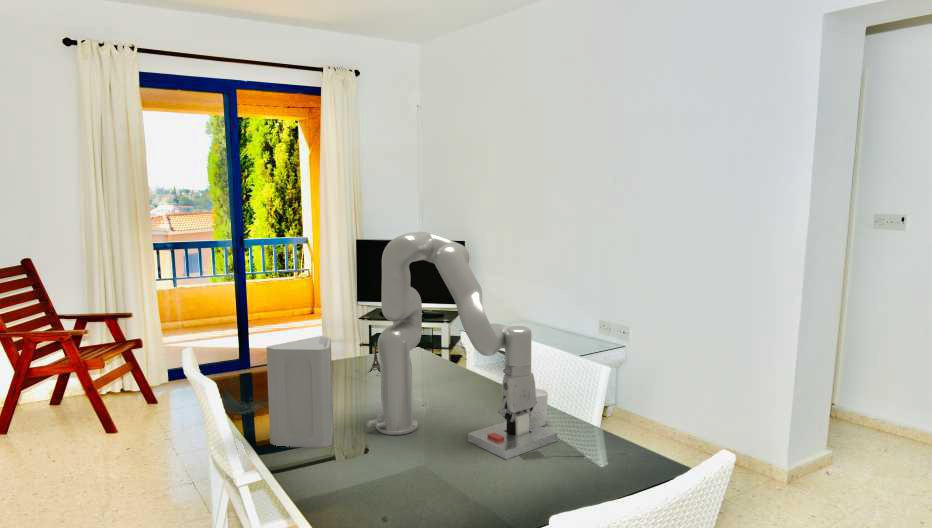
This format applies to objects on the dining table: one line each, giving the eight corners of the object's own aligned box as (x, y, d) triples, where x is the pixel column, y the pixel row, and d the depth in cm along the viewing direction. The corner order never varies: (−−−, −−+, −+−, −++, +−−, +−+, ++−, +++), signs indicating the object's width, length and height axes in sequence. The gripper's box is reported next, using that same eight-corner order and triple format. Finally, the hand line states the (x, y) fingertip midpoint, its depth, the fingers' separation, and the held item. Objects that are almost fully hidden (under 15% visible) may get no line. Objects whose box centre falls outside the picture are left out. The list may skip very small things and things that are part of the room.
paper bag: (298, 456, 162) (294, 355, 159) (268, 442, 172) (265, 346, 169) (354, 436, 176) (352, 342, 174) (324, 424, 186) (322, 335, 183)
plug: (517, 437, 170) (517, 412, 169) (506, 432, 173) (506, 408, 173) (528, 433, 173) (529, 409, 172) (518, 428, 176) (518, 405, 176)
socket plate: (506, 459, 160) (506, 447, 159) (468, 441, 172) (468, 430, 172) (557, 440, 172) (557, 430, 172) (518, 425, 185) (518, 415, 184)
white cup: (546, 428, 181) (547, 396, 181) (520, 427, 183) (520, 395, 182) (548, 419, 189) (548, 388, 188) (523, 418, 191) (523, 387, 190)
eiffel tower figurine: (353, 371, 247) (353, 339, 246) (374, 366, 254) (373, 335, 253) (375, 379, 236) (374, 345, 235) (395, 374, 243) (395, 341, 242)
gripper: (505, 378, 163) (504, 442, 165) (548, 367, 174) (547, 428, 176) (487, 372, 169) (487, 434, 171) (529, 362, 180) (529, 421, 181)
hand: (517, 430), depth 173 cm, fingers closed on plug, 4 cm apart
